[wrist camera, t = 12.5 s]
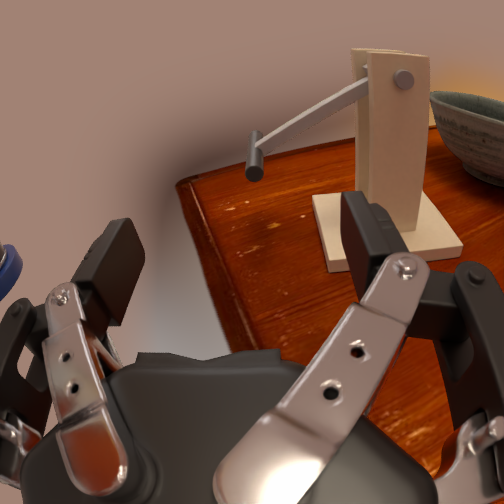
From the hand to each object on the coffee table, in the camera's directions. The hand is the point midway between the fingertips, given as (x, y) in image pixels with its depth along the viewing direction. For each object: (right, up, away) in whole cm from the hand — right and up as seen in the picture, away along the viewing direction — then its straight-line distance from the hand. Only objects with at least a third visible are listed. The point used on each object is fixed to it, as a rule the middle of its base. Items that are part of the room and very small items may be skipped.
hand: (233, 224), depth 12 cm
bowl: (+34, +10, +22) cm, 41 cm away
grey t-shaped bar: (+7, +9, +10) cm, 15 cm away
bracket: (+13, +1, +15) cm, 20 cm away
